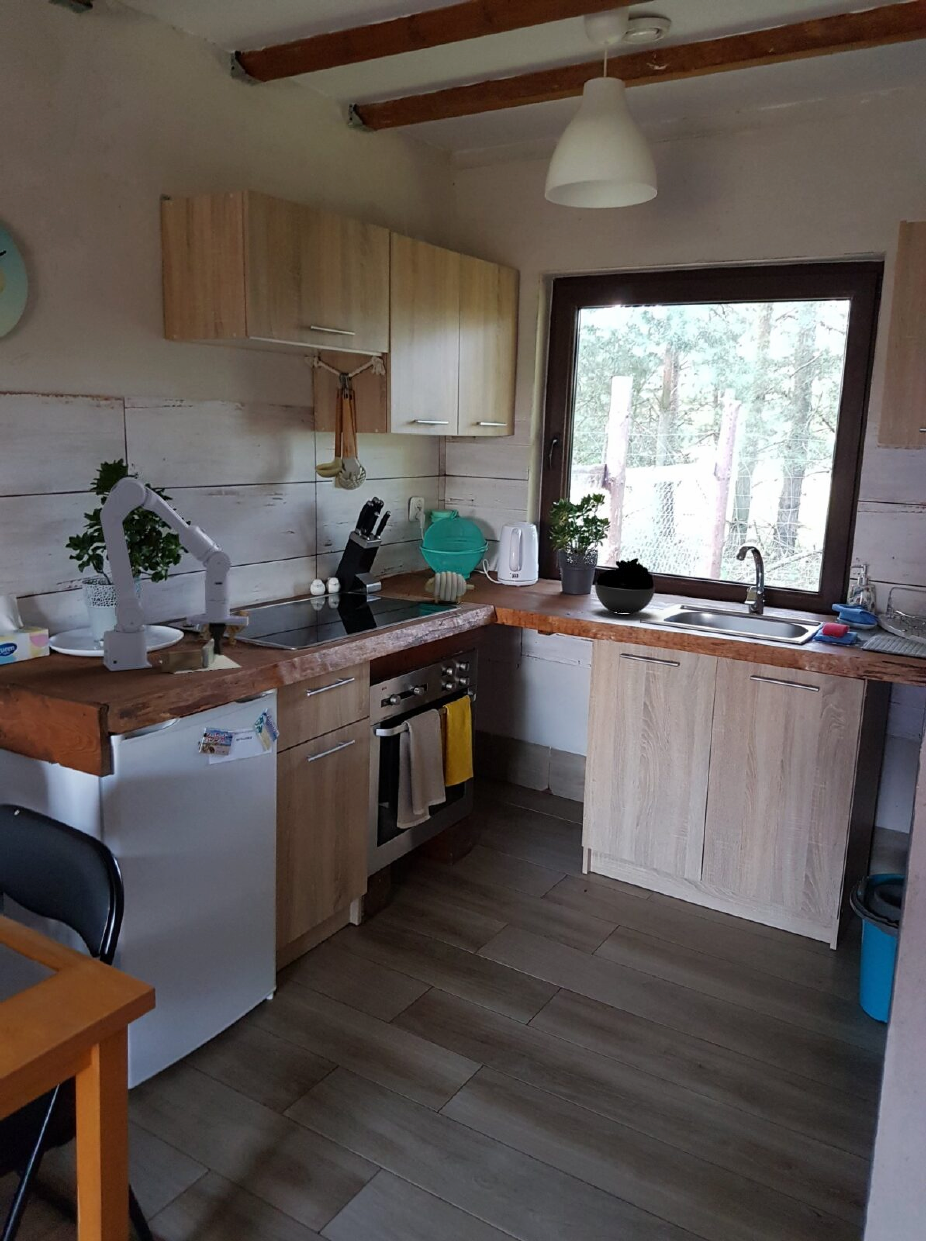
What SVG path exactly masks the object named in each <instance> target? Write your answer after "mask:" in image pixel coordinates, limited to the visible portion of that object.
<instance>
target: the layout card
mask: <svg viewBox="0 0 926 1241" xmlns="http://www.w3.org/2000/svg"><path fill="white" fill-rule="evenodd" d="M159 663H160V664H161V665H162V660H159ZM242 667H243V666H241V665H239V664H238V663H237V662H235V661H233V659H230V658H229V657H228V656H226V655H224V654H222V655H218V656H217V657H216V658H215V659H214V661H213V662H212V663H211V664H210V665H209V666H207V667H203V666H202V667H196V668H198V670H196V671H202V672H211V671H210V670H212V671H219V670H218V669H223V670H231V669H232V668H233V669H241V668H242ZM233 669H232V670H233ZM188 672H192V673H195V672H194V671H192V670H191V669H190V668H186V669H176V673H173V675H178V674H181V673H182V674H189V673H188Z"/></svg>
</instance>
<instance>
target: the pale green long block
mask: <svg viewBox="0 0 926 1241" xmlns="http://www.w3.org/2000/svg"><path fill="white" fill-rule="evenodd" d="M214 644H215V642H214V640H213V638H211V639H210V641H209V642H208V641H207V643H206V644H205V645H204V646H203V647H202V649H201V651H202V666H203V667H207V666H209V665H210V664H211V663H212V662H213V661H214V659H215V658H216V657H217V656H219V655H218V654H217V655H216V654H214Z"/></svg>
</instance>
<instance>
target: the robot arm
mask: <svg viewBox="0 0 926 1241" xmlns="http://www.w3.org/2000/svg"><path fill="white" fill-rule="evenodd" d="M138 507H141V508H142V509H143V510H147V511H151V512H153V513H155V514H156V515H157V516H158V517H160V519H162V520H163V521H164V522H165V523H166V524H167V525H168V526H169V527H170V528H172V530H174V531H175V532H176V533H177V534H178V535H179V536H178V540H179V541H178V542H179V544H180V545H182V547H183V548H184V549H186V550H187V551H188V553H190V554H191V555H192V556H193V557H194V558H195V559H196V560H197V562H202V566H203V567H204V568H205V579H204V605H205V606H204V608H205V609H204V610H205V612H204V613H205V614H198V615H197V614H194V615H193V614H192V615H191V614H189V615H187V616H186V625H190V626H191V625H202V624H209V628H208V630H209V632H210V636H211V637H212V639H213V640H214V642H215V644H214V654H216V655H217V654H218V656H220V655H221V654H222V655H223V637H224V634H226V633H225V630H226V628H227V626H228V625H243V626H247V625H248V626H249V624H248V617H242V616H232V614H230V613H231V611H230V609H231V607H230V579H229V577H230V576H229V575H230V573H229V571H230V570H231V567H232V562H231V559H230V557H229V555H228V554H227V553H226V552H224V551H223V549H222V548H220V547H221V545H220V544H219V543H218V542H214V541H213V539H211V538H210V537H209V536H208V535H207V534H206V532H207V531H206V530H205V528H204V527H199V526H198V525H189V524H187V522H186V521H185V520H183V519H182V517H181V516H180V515H179V514H178V513H177V512H176V511H175V510H174V509H173V508H172V507H171V506H170V505H169V504H168V503H167V502H166V501H165V500H164V499H163V498H162V497H161V496H160V495H159V494H157V493H156V492H154V490H152V489H150V488H149V487H147V486H146V485H144V484H143V483H142V482H141V481H140V480H138V479H137V478H135V477H132V476H126V477H123V478H121V479H119V481H117V482H116V483H115V484H114V485H113V486H112V487H111V489H110V491H109V494H108V496H107V497H106V500H105V501H104V504H103V506H102V509H101V511H100V513H99V518H100V522H101V523H100V524H101V528H102V534H103V537H104V543H105V549H106V553H107V558H108V561H109V567H110V573H111V577H112V583H113V587H114V592H115V597H116V604H115V608H114V614H115V616H116V618H115V620H116V623H115V625H114V626H113V629H111V630H106V631H104V632H103V637H102V639H103V642H102V644H103V646H102V647H103V665H104V666H105V667H106V668H107V669H108V670H109V671H110V672H117V671H126V670H136V669H137V670H138V669H147V668H148V669H149V668H152V667H153V664H151V663H150V662H149V661H148V654H147V653H148V649H147V644H148V643H147V626H146V625H144V624H145V621H146V612H145V611H144V609H143V606H142V603H141V602H140V601H139V599H138V595H137V592H136V587H135V582H134V577H133V576H134V575H133V571H132V566H131V562H130V557H129V556H130V555H129V551H128V545H127V542H126V536H125V531H124V525H123V521H124V520H125V519H126V517H127V516H128V515H129V514H130V512H132V511H133V510H135V509H136V508H138ZM248 626H247V627H248Z"/></svg>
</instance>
